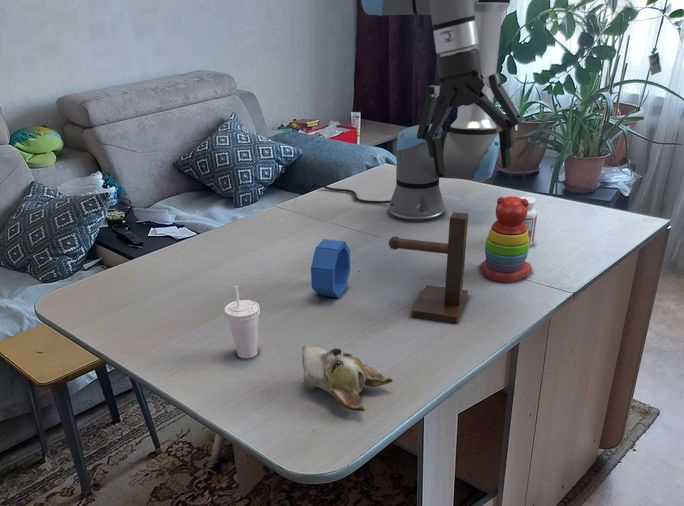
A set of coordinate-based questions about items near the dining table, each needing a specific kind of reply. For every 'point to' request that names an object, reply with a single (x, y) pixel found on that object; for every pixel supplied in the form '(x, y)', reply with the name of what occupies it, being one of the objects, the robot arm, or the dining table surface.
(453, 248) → the stand
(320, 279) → the tape
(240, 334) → the smoothie
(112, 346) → the dining table surface
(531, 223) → the pill bottle
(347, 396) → the ceramic sculpture
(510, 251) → the stacking bear
